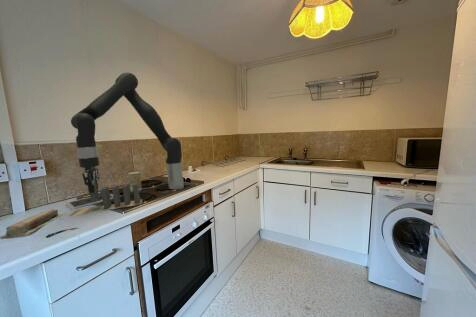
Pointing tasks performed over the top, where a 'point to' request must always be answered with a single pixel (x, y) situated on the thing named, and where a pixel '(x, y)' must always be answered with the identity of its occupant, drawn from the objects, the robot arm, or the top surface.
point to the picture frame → (85, 202)
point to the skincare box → (134, 180)
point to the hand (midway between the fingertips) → (93, 191)
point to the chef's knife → (58, 232)
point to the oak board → (101, 208)
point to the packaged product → (31, 224)
